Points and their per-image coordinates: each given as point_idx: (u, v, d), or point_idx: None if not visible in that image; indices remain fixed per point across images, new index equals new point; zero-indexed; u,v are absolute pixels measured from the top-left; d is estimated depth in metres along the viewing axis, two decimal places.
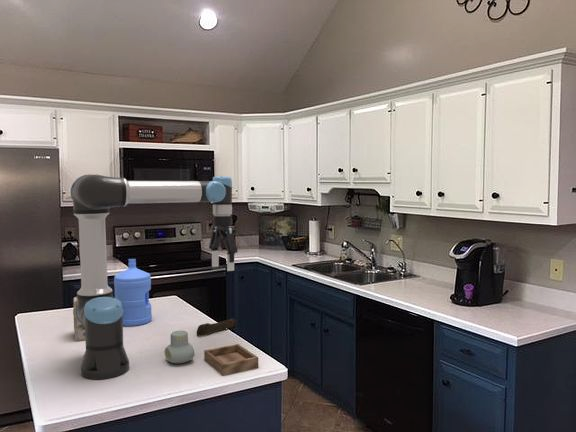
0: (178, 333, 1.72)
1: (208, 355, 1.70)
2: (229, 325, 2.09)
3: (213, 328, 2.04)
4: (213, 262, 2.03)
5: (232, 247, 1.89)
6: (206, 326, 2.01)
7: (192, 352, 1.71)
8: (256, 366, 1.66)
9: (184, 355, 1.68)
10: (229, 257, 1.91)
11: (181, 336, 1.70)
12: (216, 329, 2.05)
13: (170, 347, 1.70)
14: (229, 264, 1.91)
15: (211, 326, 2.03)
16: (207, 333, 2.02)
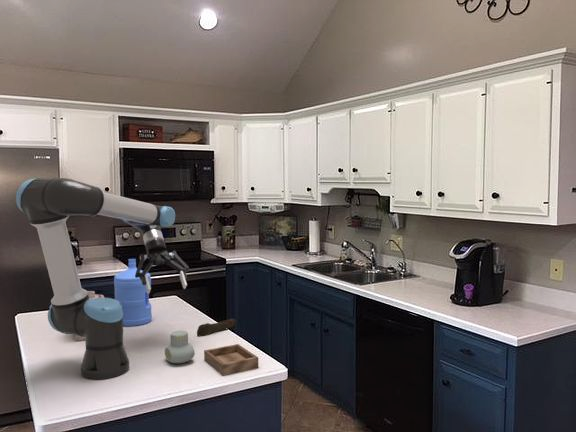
0: (178, 333, 1.72)
1: (208, 355, 1.70)
2: (229, 325, 2.09)
3: (214, 328, 2.04)
4: None
5: None
6: (206, 326, 2.01)
7: (192, 352, 1.71)
8: (256, 366, 1.66)
9: (184, 355, 1.68)
10: None
11: (181, 336, 1.70)
12: (216, 329, 2.04)
13: (170, 347, 1.70)
14: None
15: (211, 326, 2.03)
16: (207, 333, 2.02)
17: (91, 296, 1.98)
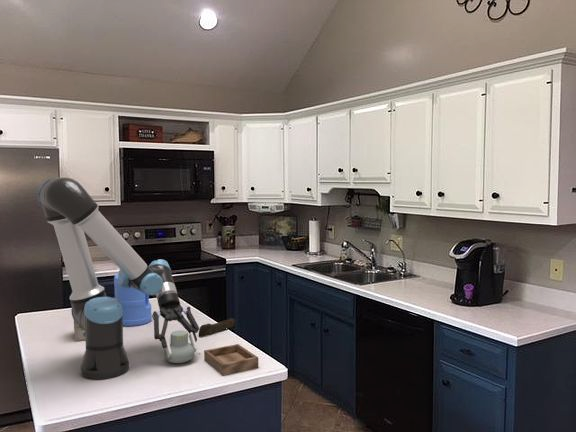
0: (178, 333, 1.72)
1: (208, 355, 1.70)
2: (229, 325, 2.09)
3: (215, 328, 2.03)
4: (170, 349, 1.68)
5: None
6: (208, 326, 2.01)
7: (192, 352, 1.71)
8: (256, 366, 1.66)
9: (184, 355, 1.68)
10: None
11: (181, 336, 1.70)
12: (217, 329, 2.04)
13: (170, 347, 1.70)
14: None
15: (212, 326, 2.02)
16: (209, 333, 2.01)
17: None
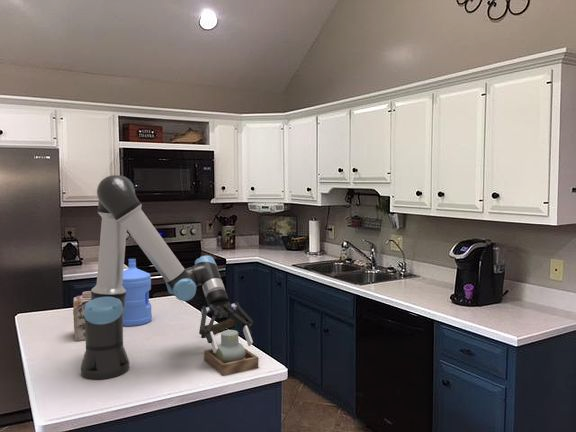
0: (229, 332, 1.68)
1: (208, 355, 1.70)
2: (229, 325, 2.09)
3: (216, 328, 2.03)
4: (215, 344, 1.64)
5: None
6: None
7: (243, 352, 1.67)
8: (256, 366, 1.66)
9: (236, 355, 1.65)
10: None
11: (232, 336, 1.66)
12: (218, 329, 2.04)
13: (221, 347, 1.67)
14: None
15: (214, 327, 2.02)
16: None
17: None
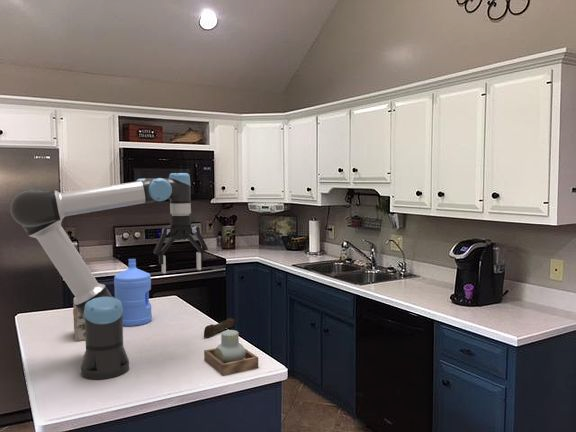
0: (229, 332, 1.68)
1: (208, 355, 1.70)
2: (229, 325, 2.10)
3: (218, 328, 2.03)
4: None
5: None
6: (212, 327, 2.00)
7: (243, 352, 1.67)
8: (256, 366, 1.66)
9: (236, 355, 1.65)
10: None
11: (232, 336, 1.67)
12: (219, 330, 2.04)
13: (221, 347, 1.67)
14: None
15: (216, 327, 2.02)
16: (213, 334, 2.00)
17: None
